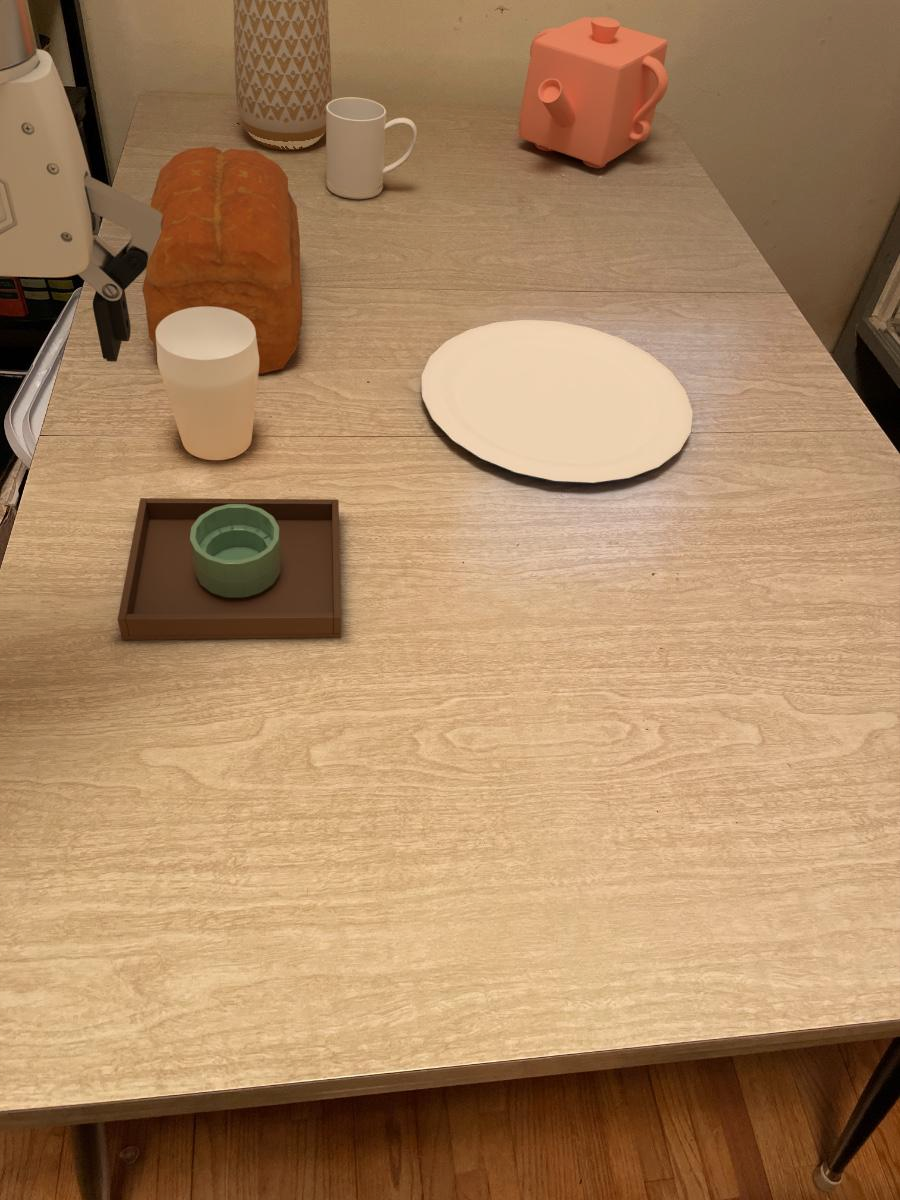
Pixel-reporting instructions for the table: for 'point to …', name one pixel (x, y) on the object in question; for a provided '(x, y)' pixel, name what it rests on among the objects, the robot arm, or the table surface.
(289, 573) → the tray
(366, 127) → the mug
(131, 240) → the robot arm
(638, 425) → the plate
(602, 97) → the teapot
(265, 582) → the bowl
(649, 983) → the table surface
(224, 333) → the cup
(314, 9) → the vase
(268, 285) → the bread
